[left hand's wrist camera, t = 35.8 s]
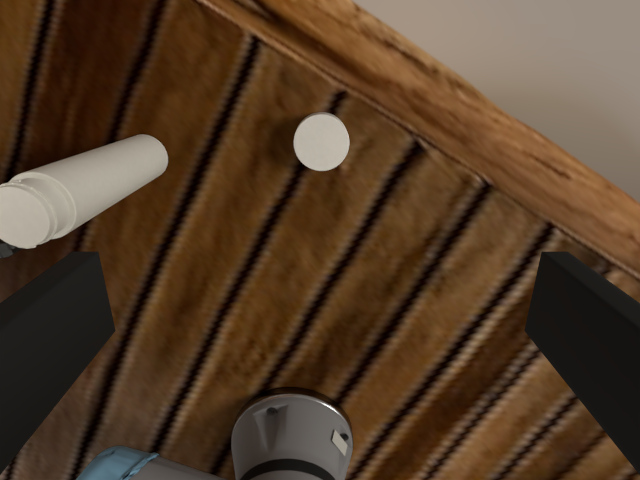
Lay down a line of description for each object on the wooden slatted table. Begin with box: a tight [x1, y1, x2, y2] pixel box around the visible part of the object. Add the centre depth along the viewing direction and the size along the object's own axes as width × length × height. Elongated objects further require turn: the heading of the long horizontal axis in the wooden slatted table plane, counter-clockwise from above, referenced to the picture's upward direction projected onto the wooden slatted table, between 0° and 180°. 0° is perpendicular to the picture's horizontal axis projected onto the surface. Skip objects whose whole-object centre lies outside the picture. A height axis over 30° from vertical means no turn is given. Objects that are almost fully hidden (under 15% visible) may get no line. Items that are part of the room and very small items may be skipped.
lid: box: [294, 112, 349, 171], centre depth 38 cm, size 5×5×2 cm
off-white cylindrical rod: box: [0, 134, 168, 249], centre depth 32 cm, size 4×4×18 cm
